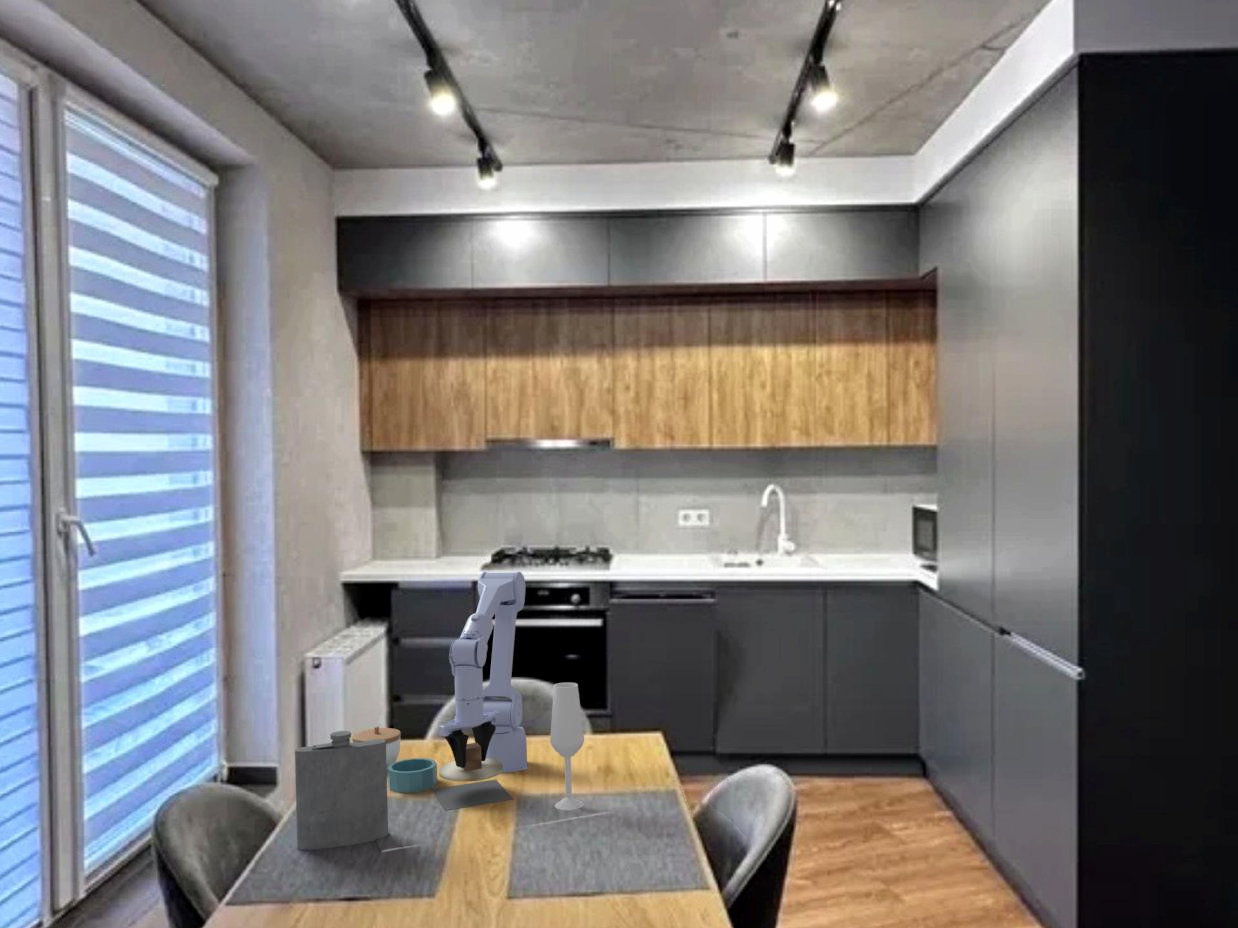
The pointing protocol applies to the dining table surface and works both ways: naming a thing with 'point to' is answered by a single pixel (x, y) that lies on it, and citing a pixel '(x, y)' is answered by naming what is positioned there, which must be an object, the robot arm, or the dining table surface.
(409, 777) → the bowl
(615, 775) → the dining table surface
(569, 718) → the champagne flute
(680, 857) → the dining table surface
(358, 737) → the lidded jar
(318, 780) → the hip flask
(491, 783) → the mat
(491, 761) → the lid
